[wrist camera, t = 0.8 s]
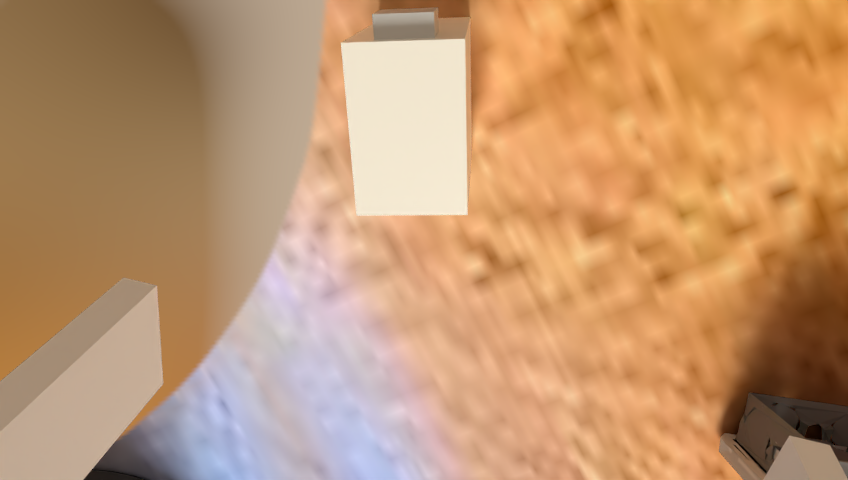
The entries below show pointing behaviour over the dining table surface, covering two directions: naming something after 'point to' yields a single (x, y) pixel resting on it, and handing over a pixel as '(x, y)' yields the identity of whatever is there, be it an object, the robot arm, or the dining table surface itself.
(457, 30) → the plug
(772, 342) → the dining table surface
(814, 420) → the electrical switch
